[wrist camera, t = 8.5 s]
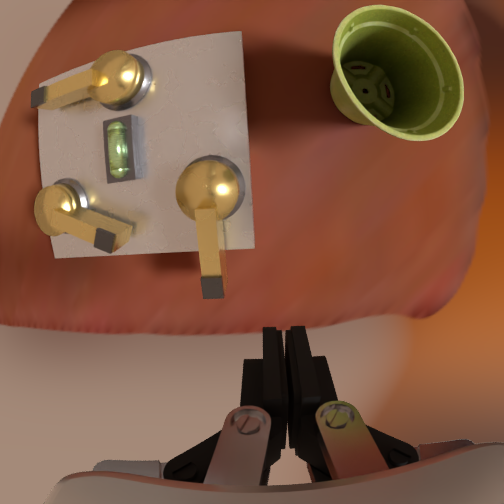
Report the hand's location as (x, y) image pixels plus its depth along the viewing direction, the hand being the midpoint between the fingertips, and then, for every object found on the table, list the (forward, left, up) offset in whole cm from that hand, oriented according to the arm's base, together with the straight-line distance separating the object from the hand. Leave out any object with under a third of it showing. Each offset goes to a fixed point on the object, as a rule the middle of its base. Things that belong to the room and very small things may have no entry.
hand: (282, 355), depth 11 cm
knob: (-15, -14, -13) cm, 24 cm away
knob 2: (-3, -4, -13) cm, 14 cm away
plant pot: (-13, +9, -15) cm, 22 cm away
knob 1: (-4, -16, -12) cm, 21 cm away
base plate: (-9, -11, -15) cm, 21 cm away
